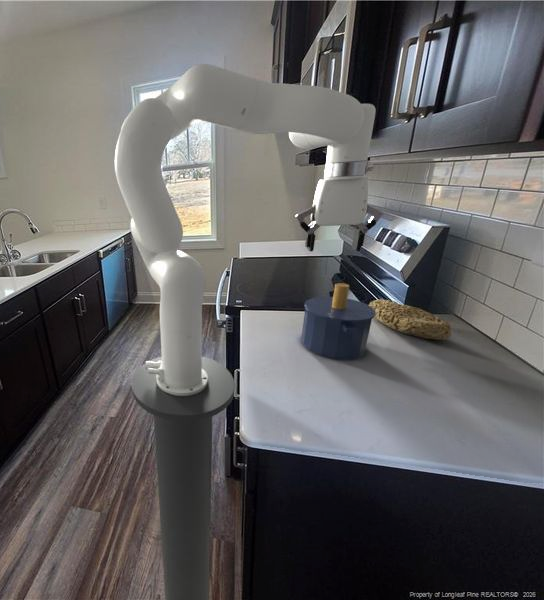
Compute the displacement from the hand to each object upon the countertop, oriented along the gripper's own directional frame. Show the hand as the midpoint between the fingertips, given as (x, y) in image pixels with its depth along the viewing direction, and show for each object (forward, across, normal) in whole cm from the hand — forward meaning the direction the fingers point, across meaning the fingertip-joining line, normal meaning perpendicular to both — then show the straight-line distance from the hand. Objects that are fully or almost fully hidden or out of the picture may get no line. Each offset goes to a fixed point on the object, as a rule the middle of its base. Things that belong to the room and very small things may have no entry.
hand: (332, 250), depth 74 cm
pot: (+26, -4, -2) cm, 27 cm away
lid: (+16, -4, -2) cm, 16 cm away
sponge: (+26, -26, -14) cm, 40 cm away
